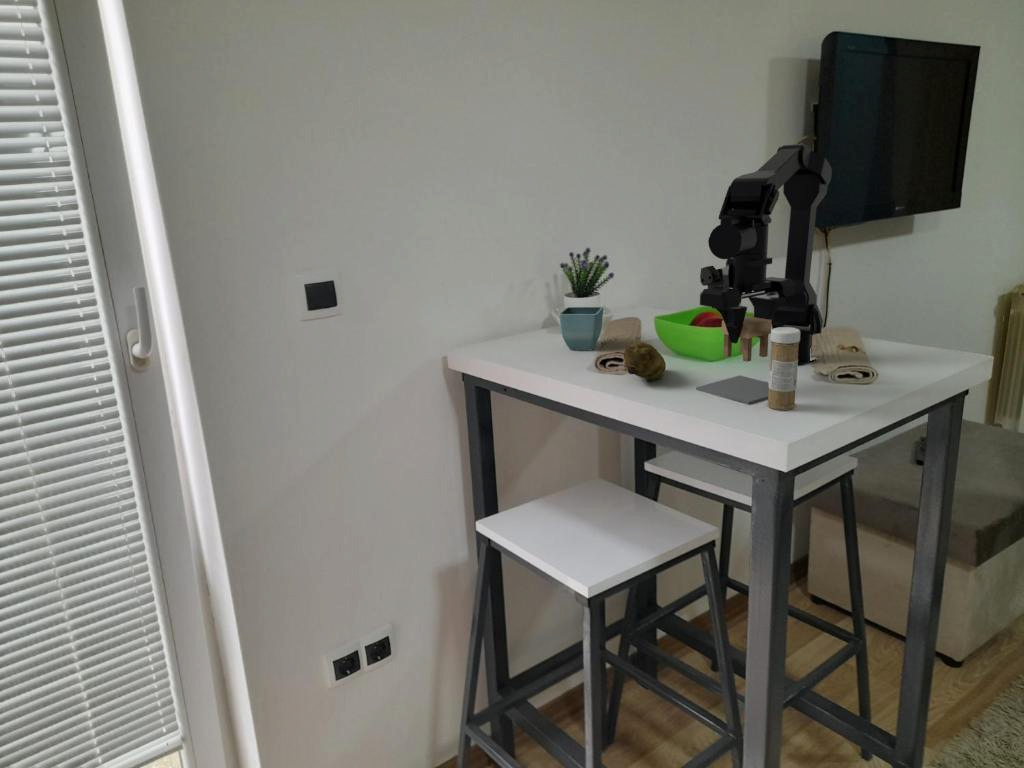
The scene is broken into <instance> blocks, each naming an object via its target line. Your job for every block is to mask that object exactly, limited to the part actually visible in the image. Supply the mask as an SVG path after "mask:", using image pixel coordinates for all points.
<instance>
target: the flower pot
mask: <svg viewBox="0 0 1024 768" xmlns="http://www.w3.org/2000/svg"><path fill="white" fill-rule="evenodd" d="M603 315H604V307H603V306H567V307H566V308H564V309H563V310H562V311H561V312H560V313H558V319H559V325H560V332H561V335H562V339H563V340H564V343H565V345H566V346H567V347H568V349H569V350H570V351H591V350H593V348H594V347H595V346H596V344H597V342H598V340H599V338H600V336H601V333H602V332H601V331H602V327H603V317H604V316H603Z"/></svg>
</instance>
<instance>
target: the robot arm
mask: <svg viewBox="0 0 1024 768" xmlns="http://www.w3.org/2000/svg"><path fill="white" fill-rule="evenodd" d="M832 172H833V171H832V167H831V164H830V163H829V161H828V159H827V158H826V157H825V156H823V155H822V154H820V153H817V152H815V151H813V150H812V149H811V148H810V146H809V145H807V144H806V145H805V144H804V143H798V144H784V145H782V146H779V147H778V148H777V151H776V153H775V154H774V155H773V156H772V157H770V158H769V159H768V160H767V161H766V162H765V163H764V164H763V165H762V166H760V167H759V168H758V169H757V170H756V171H753V172H751V173H750V172H749V173H745V174H741V175H739V176H738V177H736V178H734V179H733V180H732V182H730V185H729V186H728V188H727V191H726V193H725V197H724V199H723V203H722V205H721V208H720V212H719V215H718V220H719V221H720V224H719V225H717V226H715V227H714V228H713V229H712V231H711V232H710V235H709V237H708V241H707V242H708V248H709V250H710V252H711V253H712V255H713V256H715V257H716V258H718V259H721V260H725V267H721V268H718V269H717V268H716V267H715V266H714V265H709V266H704V267H702V268H700V274H699V279H700V283H701V285H702V286H703V287H705V286H707V288H704V289H703V290H702V291H701V292H700V294H699V306H704V307H710V308H712V309H715V310H716V311H717V312H718V313H719V314H720V315H721V317H722V319H723V320H724V322H725V325H726V328H727V331H728V334H729V337H730V340H731V342H732V344H738V342H739V341H740V333H741V329H742V326H743V322H744V318H745V316H746V314H747V310H748V306H745V305H742V302H743V301H742V300H743V299H749V302H750V303H751V305H752V306H753V317H756V318H762V319H768V320H772V326H771V330H772V329H774V328H778V327H791V328H796V329H799V330H800V341H799V345H798V366H799V365H804V364H807V363H809V362H808V361H810V348H811V347H812V346H813V344H812V343H813V336H815V335H819V334H822V330H823V329H822V328H823V323H824V320H823V317H822V314H821V311H820V308H819V305H818V304H817V303H818V302H817V300H818V298H817V296H818V295H817V294H816V293H817V292H816V291H815V289H814V287H813V286H812V284H811V282H810V281H811V268H812V257H813V250H814V249H813V248H814V238H815V237H814V236H815V230H816V229H815V228H816V216H817V207H818V206H819V205H820V203H821V202H822V200H823V199H824V198H825V196H826V195H827V193H828V187H829V184H830V183H831V181H832V175H833V173H832ZM782 187H783V188H782ZM780 188H782V189H783V190H782V191H783V196H784V197H785V200H786V201H787V203H788V205H789V206H790V211H789V213H790V214H789V215H790V216H789V223H788V224H789V225H788V235H787V236H788V237H787V249H786V259H785V271H784V277H775V276H768V277H767V269H768V268H767V267H768V266H767V265H772V264H773V257H768V248H769V247H768V246H769V245H768V244H769V243H768V242H769V228H770V227H769V226H770V225H769V224H771V223H772V222H773V221H772V218H771V216H772V213H773V211H774V208H775V206H776V204H777V202H778V201H779V197H780V191H779V189H780ZM757 338H759V339H760V336H758V337H757ZM811 349H812V348H811ZM806 362H807V363H806ZM803 363H804V364H803Z"/></svg>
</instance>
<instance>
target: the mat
mask: <svg viewBox="0 0 1024 768" xmlns="http://www.w3.org/2000/svg"><path fill="white" fill-rule="evenodd" d="M695 390H697V391H699V392H703V391H704V393H707V394H710V393H711V395H714V394H715V395H714V396H717V395H719V397H722V398H724V397H725V399H728V400H732V401H735V402H738V403H742V404H745V405H751V404H755V403H759V402H761V401H764V400H768V396H769V381H763V380H761V379H756V378H751V377H748V376H744V375H736V376H733V377H732V376H731V377H728V378H725V379H721V380H718V381H715V382H710V383H707V384H704V385H703V384H702V385H699V386H696V387H695Z"/></svg>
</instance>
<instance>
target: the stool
mask: <svg viewBox="0 0 1024 768" xmlns="http://www.w3.org/2000/svg"><path fill="white" fill-rule="evenodd" d="M771 330H772V320H768V319H762V318H756V317H754V316H749V315H745V318H744V322H743V326H742V329H741V333H740V337H739V353H742V362H751V361H752V351H753V350H752V346H753V344H752V343H753V339H754V338H758V336H760V338H759V354H758V357H761V358H765V357H768V355H769V354H768V352H769V350H768V349H769V335H771ZM721 334H722V335H723V349H722V350H723V355H722V356H723V357H725V358H728V357H732V354H733V353H732V350H733V349H732V348H733V343H732V342H731V340H730V337H729V334H728V331H727V328H726V325H725V322H724V320H721Z"/></svg>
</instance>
